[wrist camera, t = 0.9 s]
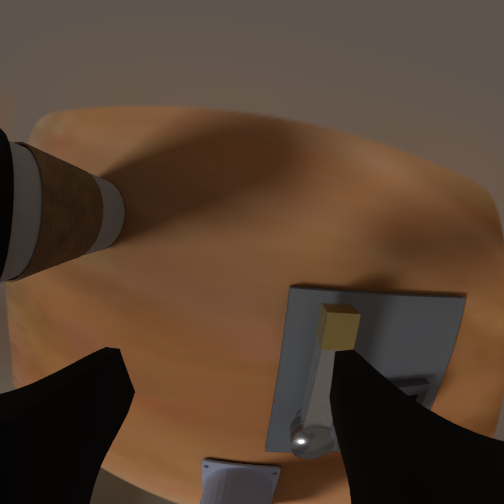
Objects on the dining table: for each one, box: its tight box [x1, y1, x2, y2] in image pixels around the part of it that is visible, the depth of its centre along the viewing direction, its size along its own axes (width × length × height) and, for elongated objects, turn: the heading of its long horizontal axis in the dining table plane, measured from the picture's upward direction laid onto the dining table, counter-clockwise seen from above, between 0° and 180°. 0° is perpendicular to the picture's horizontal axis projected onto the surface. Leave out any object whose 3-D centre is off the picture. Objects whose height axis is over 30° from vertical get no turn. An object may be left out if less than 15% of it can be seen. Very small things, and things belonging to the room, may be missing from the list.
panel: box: [265, 286, 466, 453], centre depth 19 cm, size 16×16×2 cm
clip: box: [290, 303, 361, 459], centre depth 17 cm, size 12×3×2 cm, turn 175°
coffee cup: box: [0, 129, 125, 282], centre depth 13 cm, size 8×8×15 cm
